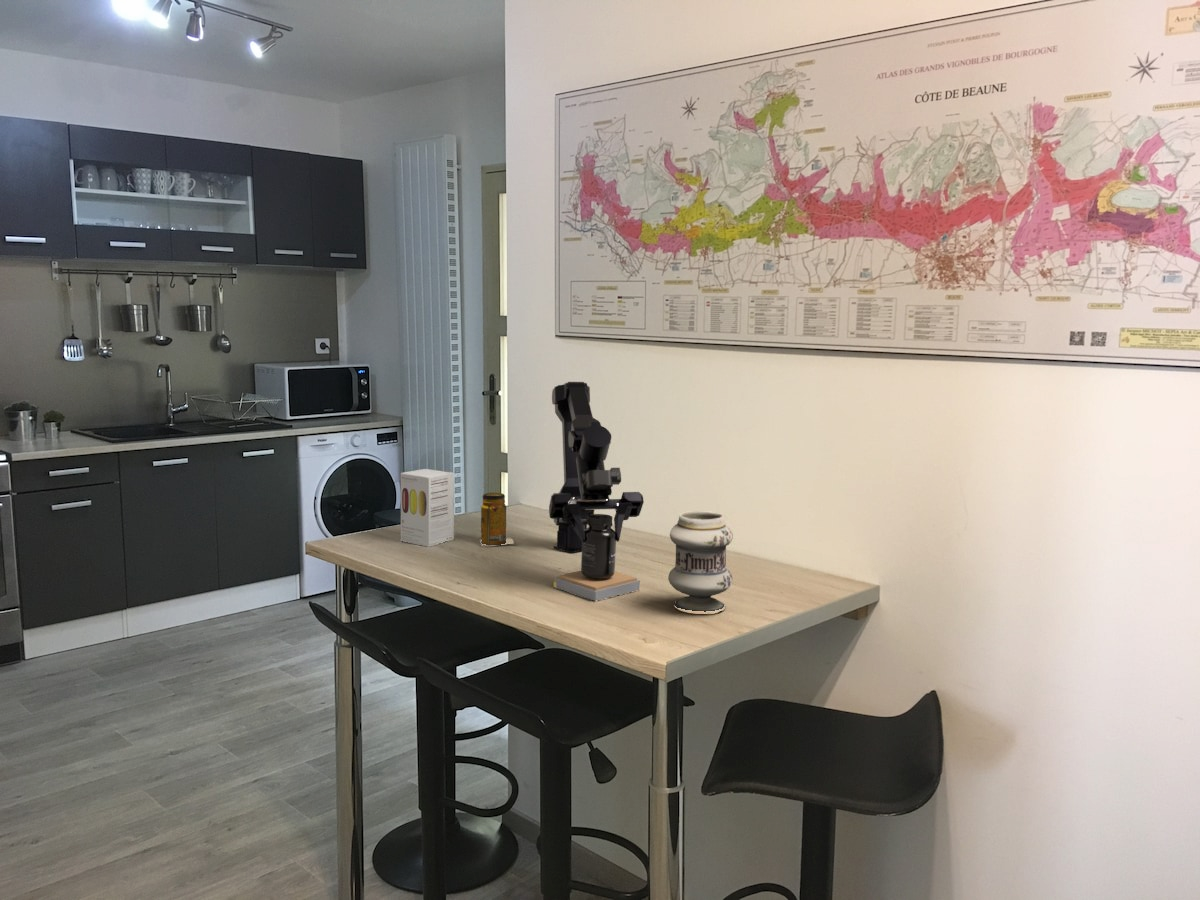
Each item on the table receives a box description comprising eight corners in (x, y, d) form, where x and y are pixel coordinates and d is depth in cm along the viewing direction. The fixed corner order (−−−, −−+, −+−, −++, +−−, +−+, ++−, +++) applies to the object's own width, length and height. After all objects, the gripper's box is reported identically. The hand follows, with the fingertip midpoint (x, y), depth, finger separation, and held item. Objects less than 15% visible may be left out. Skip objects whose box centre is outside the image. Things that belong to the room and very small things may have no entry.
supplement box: (399, 541, 225) (398, 472, 222) (425, 534, 232) (425, 467, 230) (429, 547, 220) (429, 476, 217) (455, 540, 227) (455, 471, 225)
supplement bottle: (619, 578, 185) (622, 519, 184) (586, 580, 183) (589, 520, 182) (608, 569, 192) (610, 511, 190) (576, 570, 190) (578, 512, 188)
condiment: (477, 540, 228) (477, 491, 226) (512, 538, 230) (512, 490, 228) (481, 547, 221) (482, 497, 219) (517, 545, 223) (517, 496, 221)
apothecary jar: (668, 596, 184) (671, 506, 182) (729, 599, 183) (733, 509, 181) (666, 615, 172) (669, 519, 170) (732, 618, 171) (736, 522, 169)
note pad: (597, 577, 197) (597, 565, 197) (639, 590, 188) (639, 577, 188) (553, 587, 189) (553, 575, 188) (595, 601, 180) (595, 588, 179)
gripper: (551, 453, 186) (559, 520, 177) (642, 453, 190) (654, 518, 181) (545, 485, 195) (552, 550, 186) (633, 483, 199) (643, 547, 190)
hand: (601, 540), depth 185 cm, fingers closed on supplement bottle, 6 cm apart
